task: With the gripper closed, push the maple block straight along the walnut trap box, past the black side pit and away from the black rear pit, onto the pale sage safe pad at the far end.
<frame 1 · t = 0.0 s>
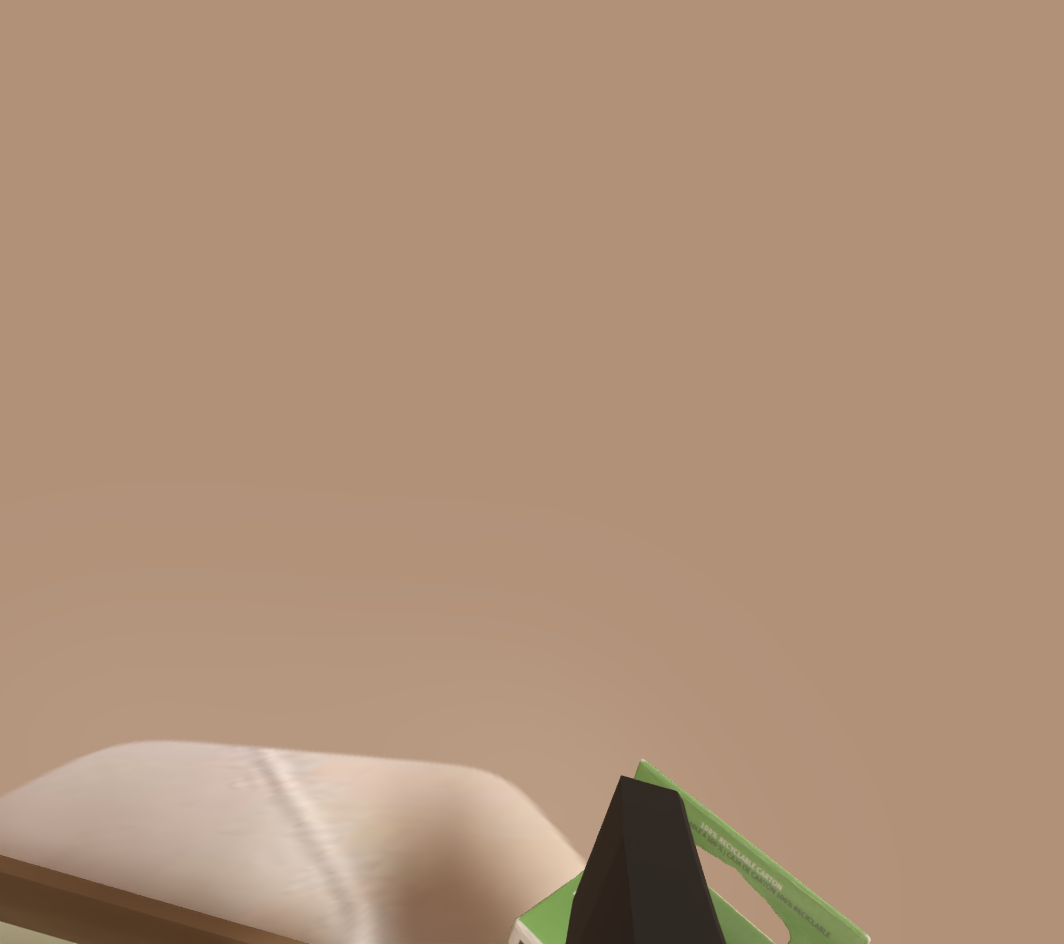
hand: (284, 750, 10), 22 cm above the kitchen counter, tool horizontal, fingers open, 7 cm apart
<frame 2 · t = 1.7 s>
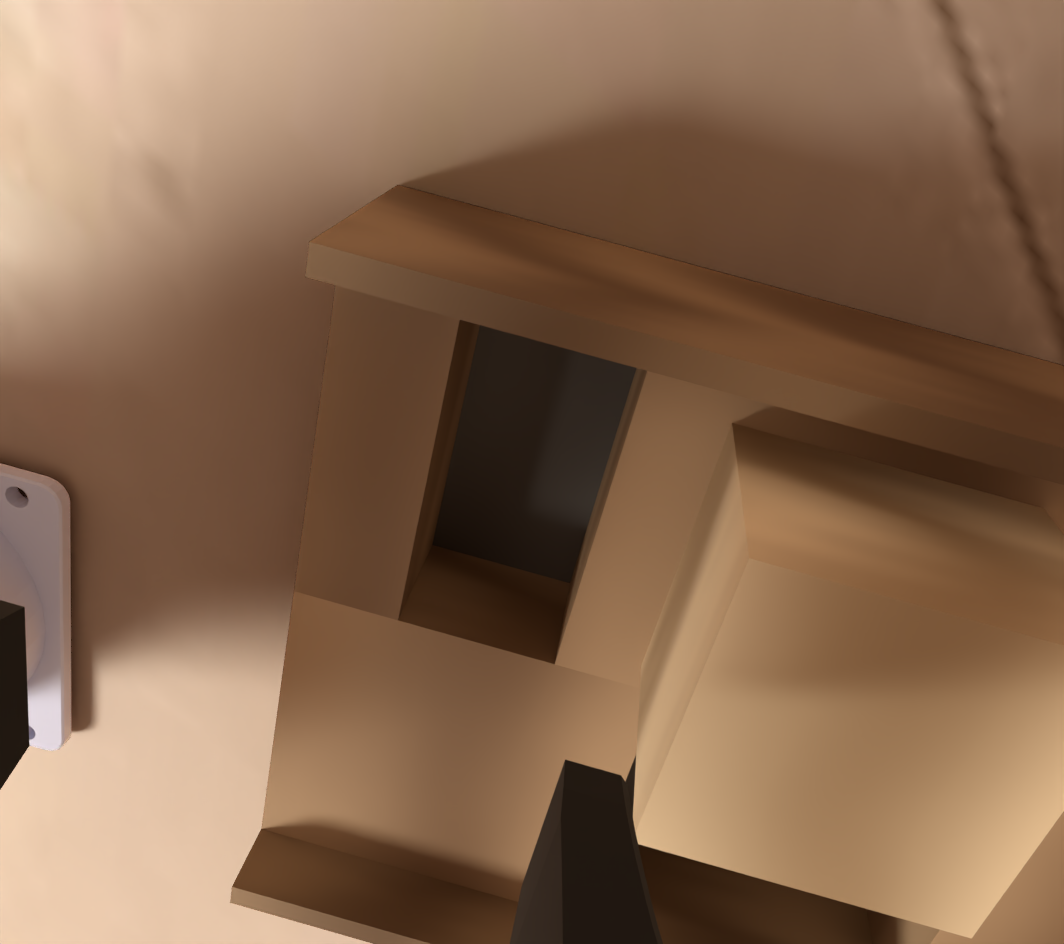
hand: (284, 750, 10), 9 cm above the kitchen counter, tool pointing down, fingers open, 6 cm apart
trap box: (799, 639, 20), on the kitchen counter
maple block: (827, 593, 16), point 3 cm above the kitchen counter, touching trap box
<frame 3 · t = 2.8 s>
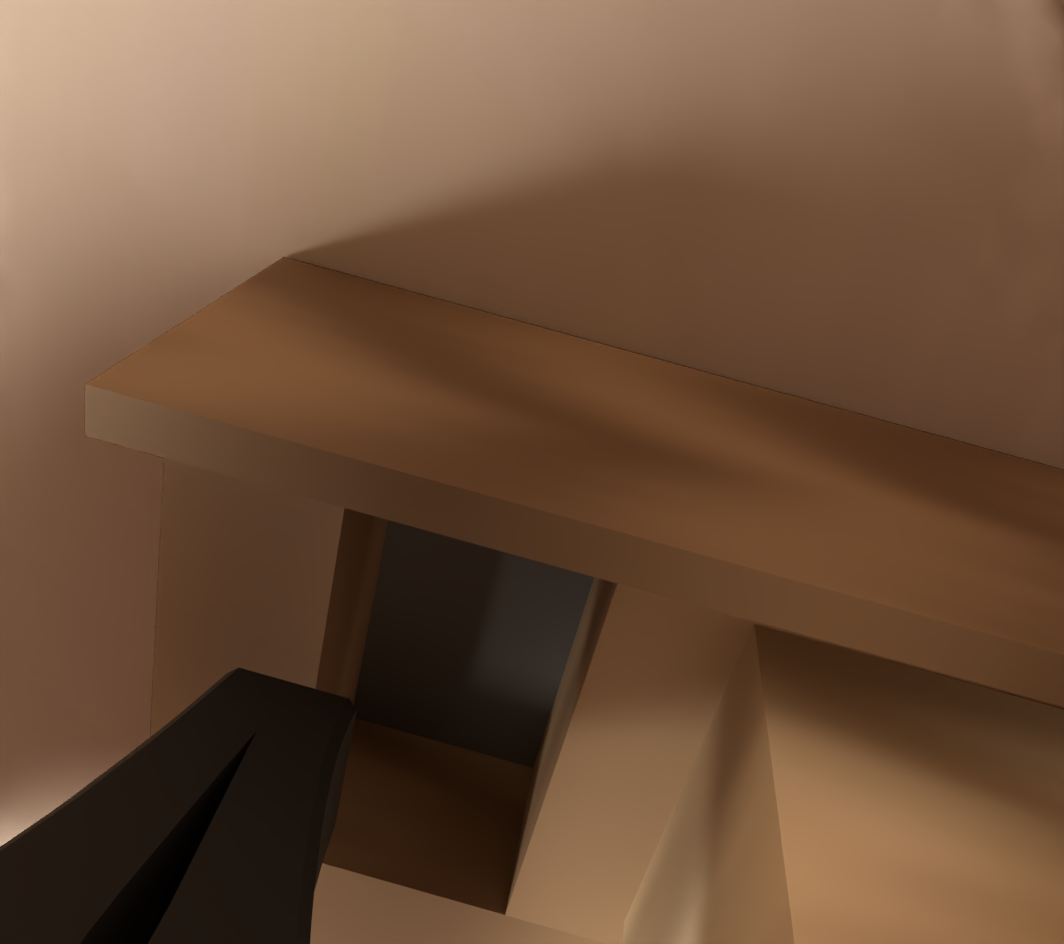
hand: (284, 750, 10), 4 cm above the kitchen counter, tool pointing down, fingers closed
trap box: (834, 838, 15), on the kitchen counter
maple block: (887, 846, 11), point 3 cm above the kitchen counter, touching trap box
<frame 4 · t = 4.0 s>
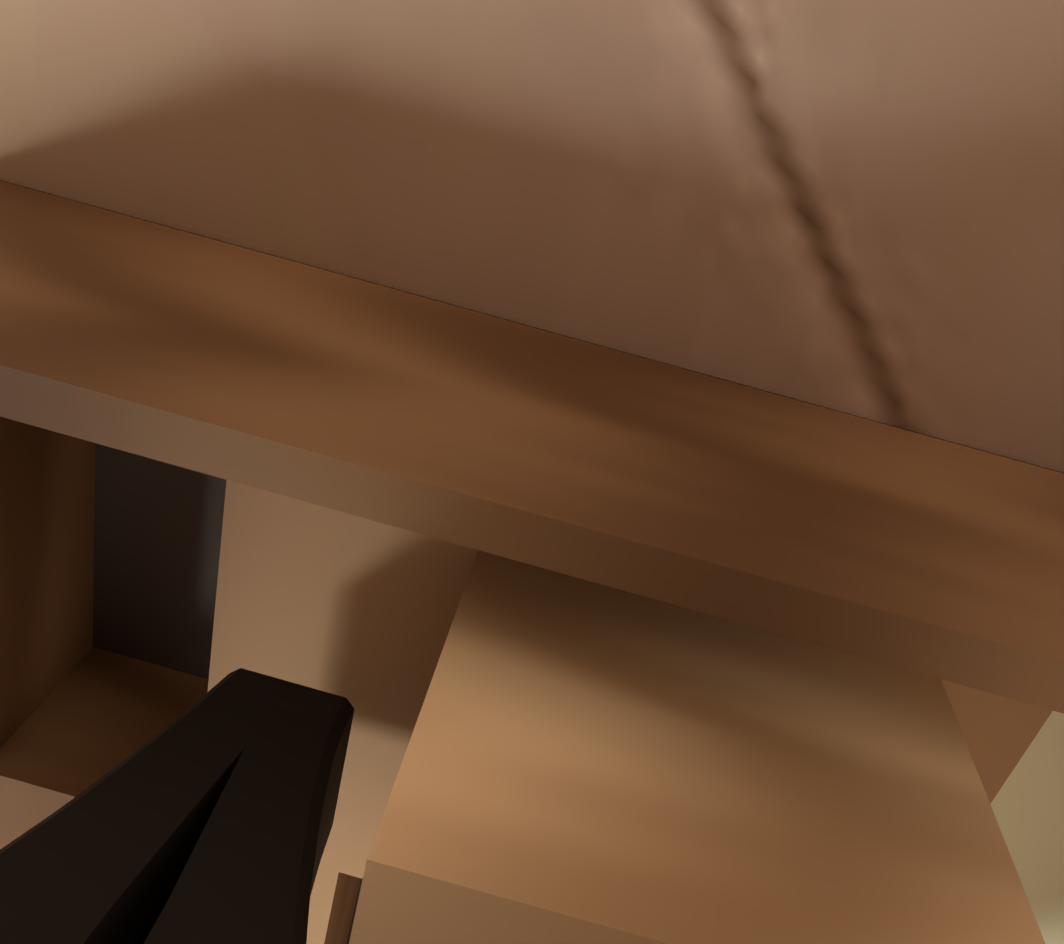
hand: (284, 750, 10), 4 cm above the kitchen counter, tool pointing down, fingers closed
trap box: (577, 769, 15), on the kitchen counter
maple block: (641, 779, 11), point 3 cm above the kitchen counter, touching gripper, trap box
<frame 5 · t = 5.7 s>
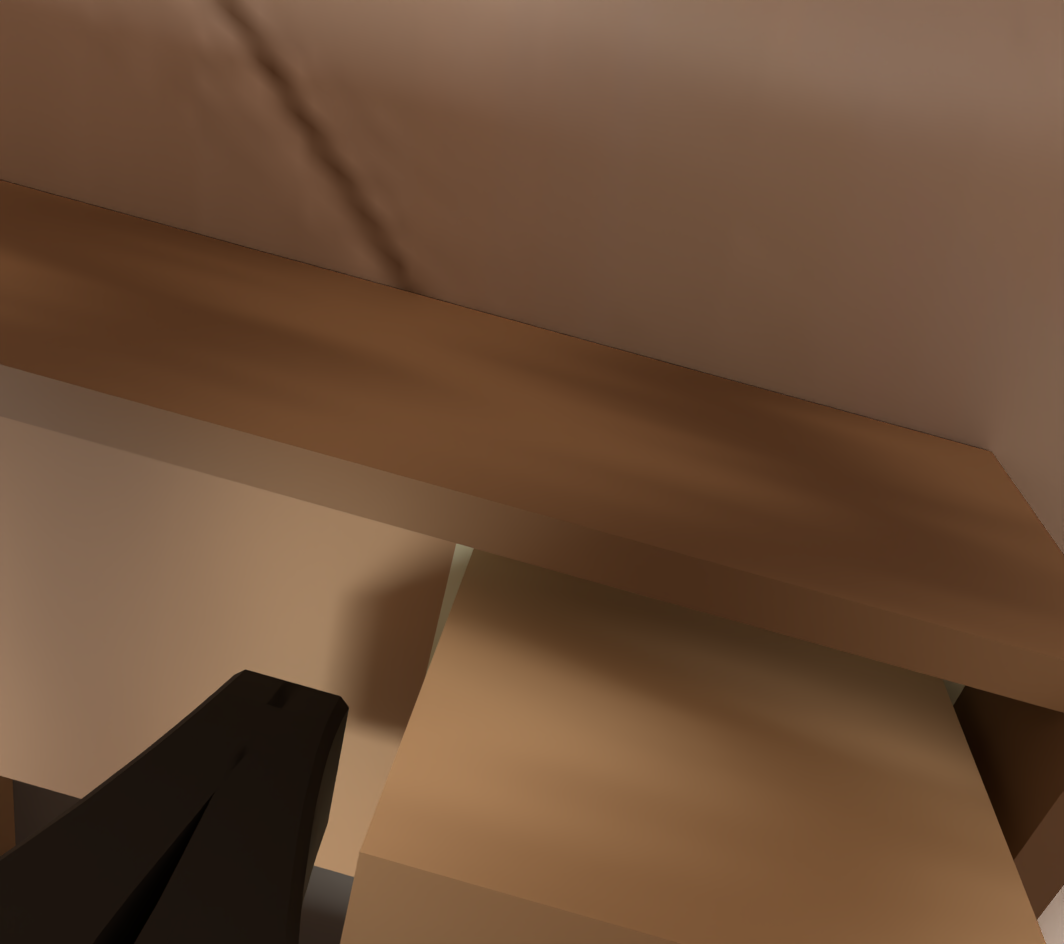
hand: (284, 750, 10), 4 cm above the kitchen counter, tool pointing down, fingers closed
trap box: (193, 660, 15), on the kitchen counter
maple block: (639, 776, 11), point 3 cm above the kitchen counter, touching gripper, trap box
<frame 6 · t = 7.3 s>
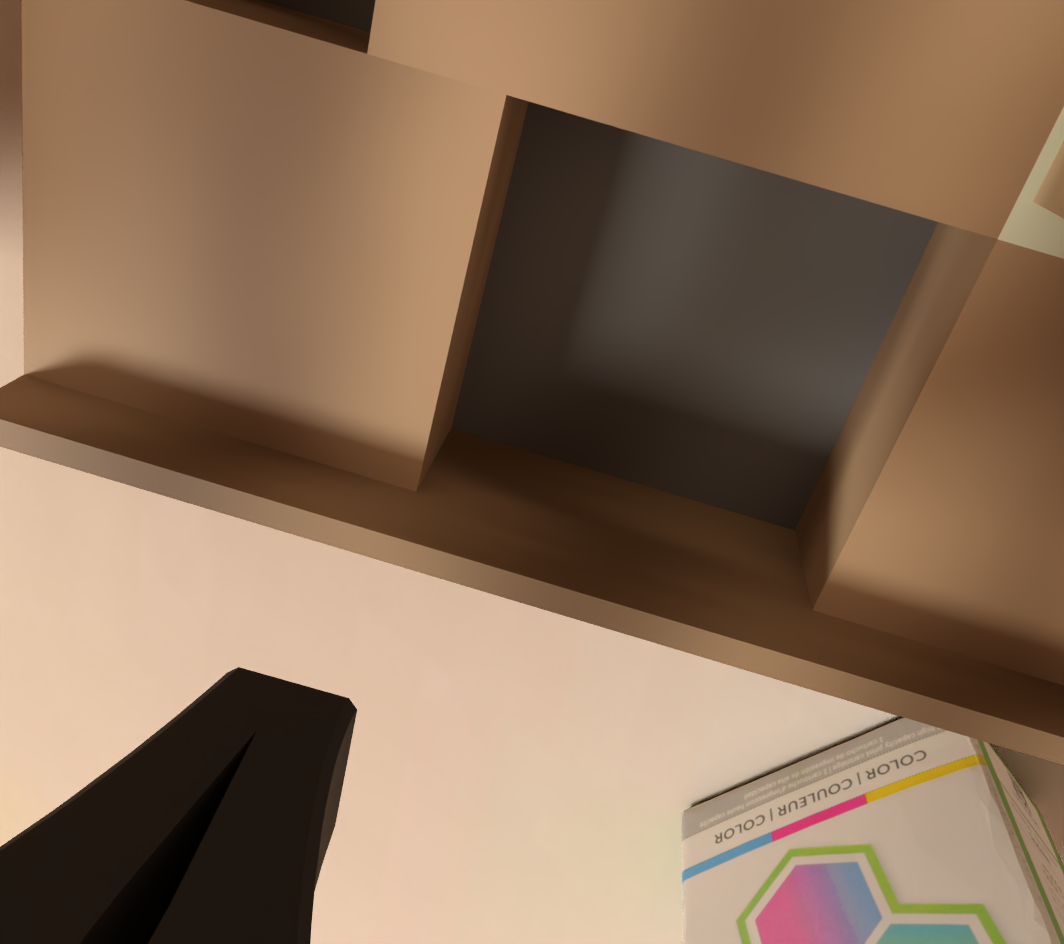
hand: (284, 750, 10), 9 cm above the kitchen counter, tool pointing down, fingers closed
trap box: (710, 130, 15), on the kitchen counter
ink box: (851, 797, 22), on the kitchen counter
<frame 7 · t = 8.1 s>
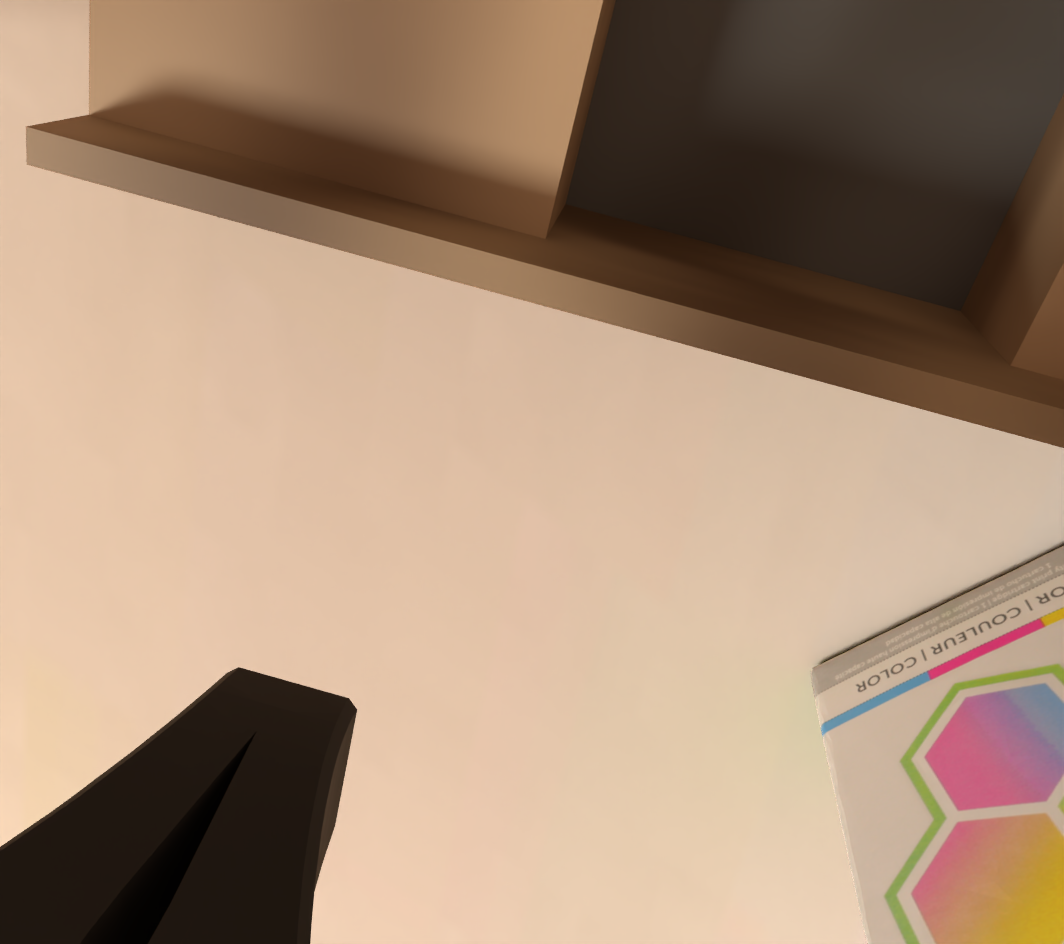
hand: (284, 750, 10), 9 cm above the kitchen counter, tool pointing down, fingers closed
ink box: (1001, 646, 19), on the kitchen counter
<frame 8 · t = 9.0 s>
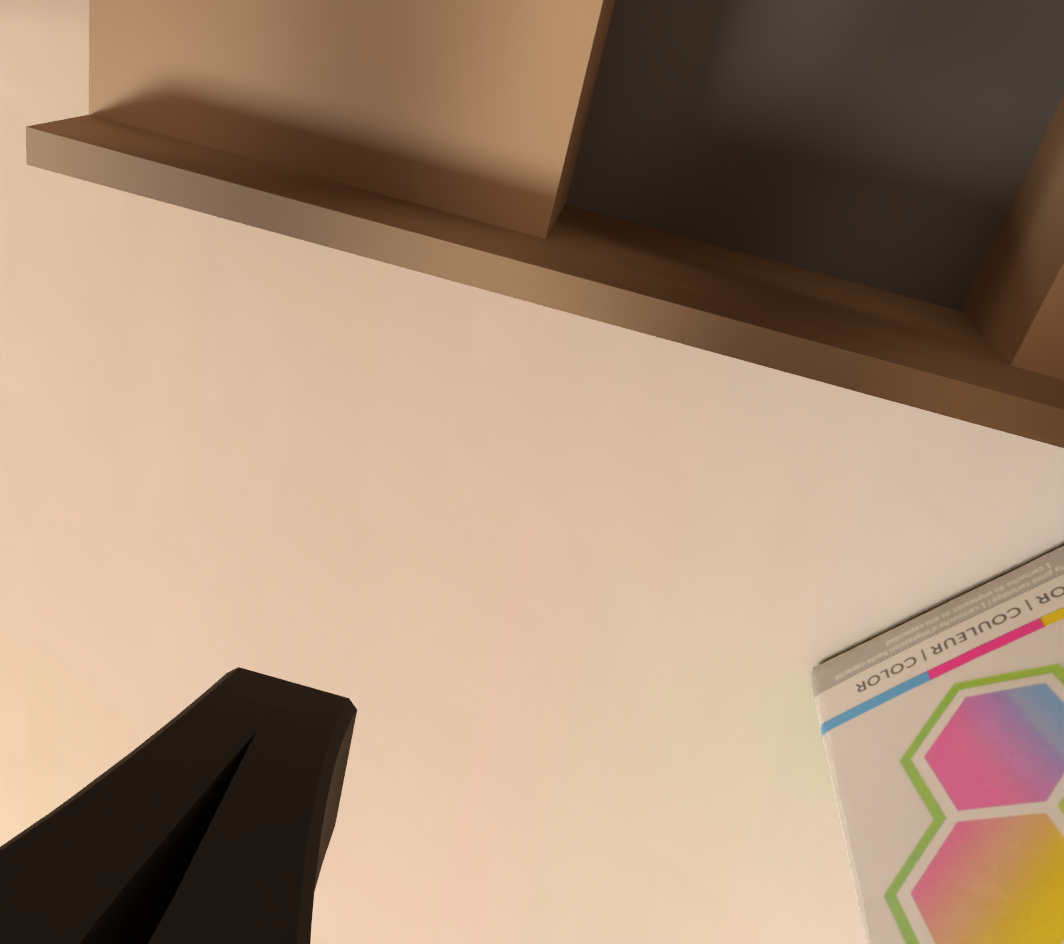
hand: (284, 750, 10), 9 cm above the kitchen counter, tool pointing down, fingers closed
ink box: (1001, 646, 19), on the kitchen counter
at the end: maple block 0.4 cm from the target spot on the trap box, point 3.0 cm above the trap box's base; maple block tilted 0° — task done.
